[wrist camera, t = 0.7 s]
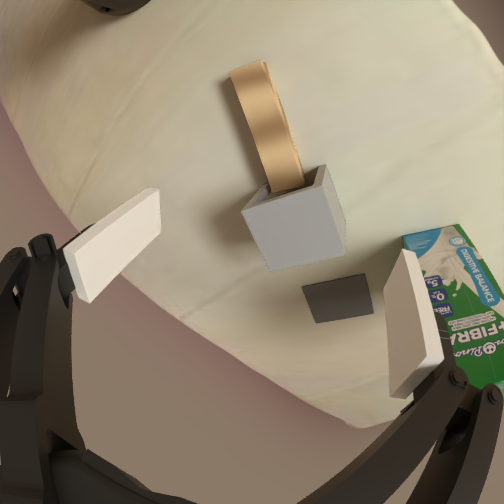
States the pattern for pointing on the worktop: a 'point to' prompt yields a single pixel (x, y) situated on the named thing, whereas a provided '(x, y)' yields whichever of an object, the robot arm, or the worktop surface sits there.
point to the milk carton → (464, 301)
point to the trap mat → (339, 299)
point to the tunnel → (298, 224)
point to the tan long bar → (268, 126)
